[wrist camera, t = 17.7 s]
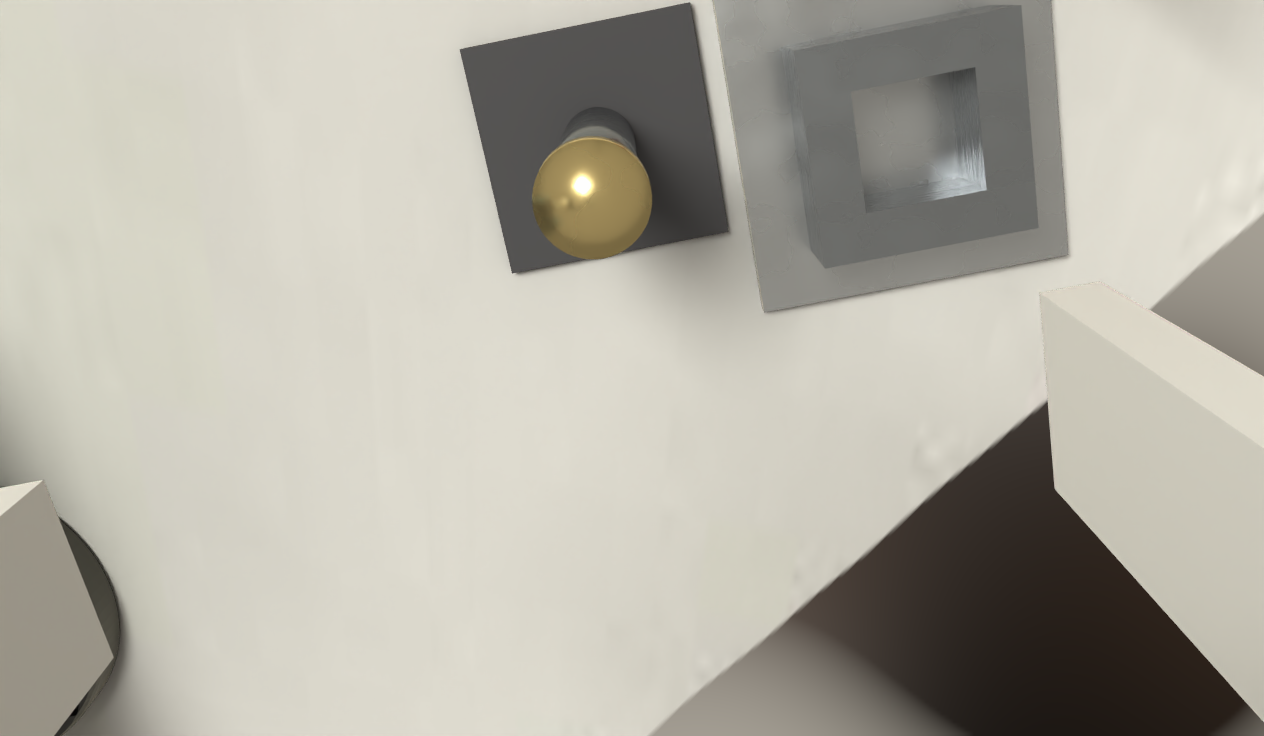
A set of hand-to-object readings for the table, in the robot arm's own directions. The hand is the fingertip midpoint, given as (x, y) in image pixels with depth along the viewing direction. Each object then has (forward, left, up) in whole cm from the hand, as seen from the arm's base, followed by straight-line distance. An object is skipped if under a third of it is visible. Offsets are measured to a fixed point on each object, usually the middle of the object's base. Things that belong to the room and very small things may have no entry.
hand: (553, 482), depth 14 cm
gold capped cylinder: (0, 0, -36) cm, 36 cm away
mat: (0, 0, -37) cm, 37 cm away
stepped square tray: (+13, -2, -37) cm, 39 cm away
